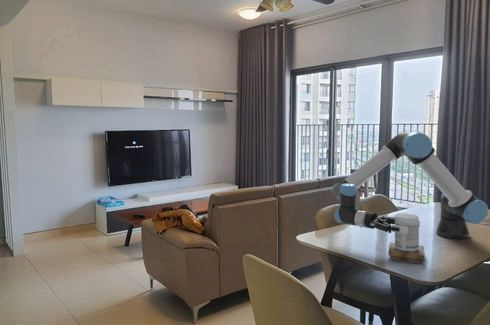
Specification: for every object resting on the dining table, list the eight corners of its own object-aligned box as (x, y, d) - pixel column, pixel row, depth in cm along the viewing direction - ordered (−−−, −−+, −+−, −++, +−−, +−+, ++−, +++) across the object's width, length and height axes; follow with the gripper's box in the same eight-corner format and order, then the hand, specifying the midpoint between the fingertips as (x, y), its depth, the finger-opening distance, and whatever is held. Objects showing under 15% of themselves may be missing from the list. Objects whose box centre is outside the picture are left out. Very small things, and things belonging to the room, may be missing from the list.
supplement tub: (419, 247, 162) (420, 214, 161) (417, 253, 154) (417, 219, 153) (396, 244, 167) (397, 212, 166) (392, 250, 159) (393, 216, 158)
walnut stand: (423, 254, 165) (423, 245, 164) (424, 265, 152) (424, 255, 151) (389, 250, 170) (389, 242, 170) (388, 261, 157) (388, 251, 157)
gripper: (378, 222, 182) (423, 229, 167) (353, 233, 164) (402, 242, 149) (378, 207, 181) (424, 213, 166) (354, 216, 163) (402, 224, 148)
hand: (414, 227), depth 158 cm, fingers open, 13 cm apart
